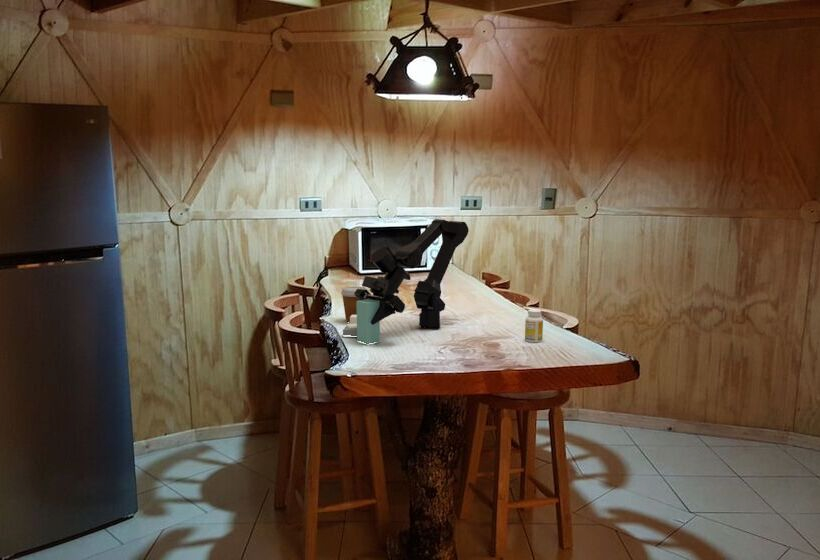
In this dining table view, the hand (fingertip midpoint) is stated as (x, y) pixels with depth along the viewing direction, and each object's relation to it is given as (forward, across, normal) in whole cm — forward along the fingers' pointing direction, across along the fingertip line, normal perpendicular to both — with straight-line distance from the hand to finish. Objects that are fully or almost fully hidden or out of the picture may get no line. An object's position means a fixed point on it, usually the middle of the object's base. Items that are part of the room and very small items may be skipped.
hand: (364, 322), depth 191 cm
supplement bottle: (-23, +34, +33) cm, 53 cm away
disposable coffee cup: (-6, -24, +16) cm, 30 cm away
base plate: (0, -12, +10) cm, 15 cm away
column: (+4, 0, +6) cm, 7 cm away
